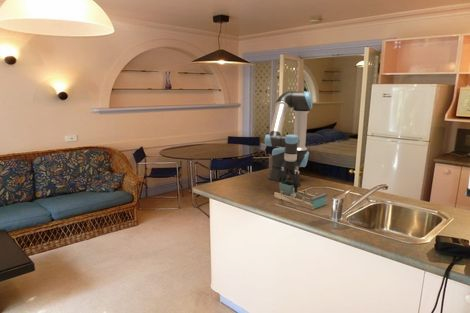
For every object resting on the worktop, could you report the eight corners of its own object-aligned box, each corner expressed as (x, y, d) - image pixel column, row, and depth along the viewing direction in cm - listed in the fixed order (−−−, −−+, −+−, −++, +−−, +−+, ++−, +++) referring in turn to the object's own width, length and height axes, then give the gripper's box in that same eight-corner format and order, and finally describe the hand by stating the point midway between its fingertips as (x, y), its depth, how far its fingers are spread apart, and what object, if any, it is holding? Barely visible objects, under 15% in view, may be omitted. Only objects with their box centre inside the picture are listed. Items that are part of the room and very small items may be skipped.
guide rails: (289, 192, 218) (289, 185, 217) (326, 204, 198) (327, 196, 197) (274, 197, 208) (274, 189, 207) (312, 209, 188) (312, 201, 187)
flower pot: (297, 196, 210) (298, 183, 208) (289, 200, 204) (290, 185, 202) (286, 193, 216) (287, 180, 214) (278, 196, 209) (278, 182, 208)
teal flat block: (323, 203, 200) (324, 193, 198) (326, 204, 198) (327, 194, 197) (309, 208, 190) (309, 198, 188) (312, 209, 188) (312, 199, 187)
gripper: (272, 157, 210) (271, 192, 215) (301, 164, 195) (298, 201, 199) (280, 156, 215) (278, 190, 220) (308, 162, 200) (305, 198, 204)
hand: (288, 195), depth 209 cm, fingers closed on flower pot, 9 cm apart
